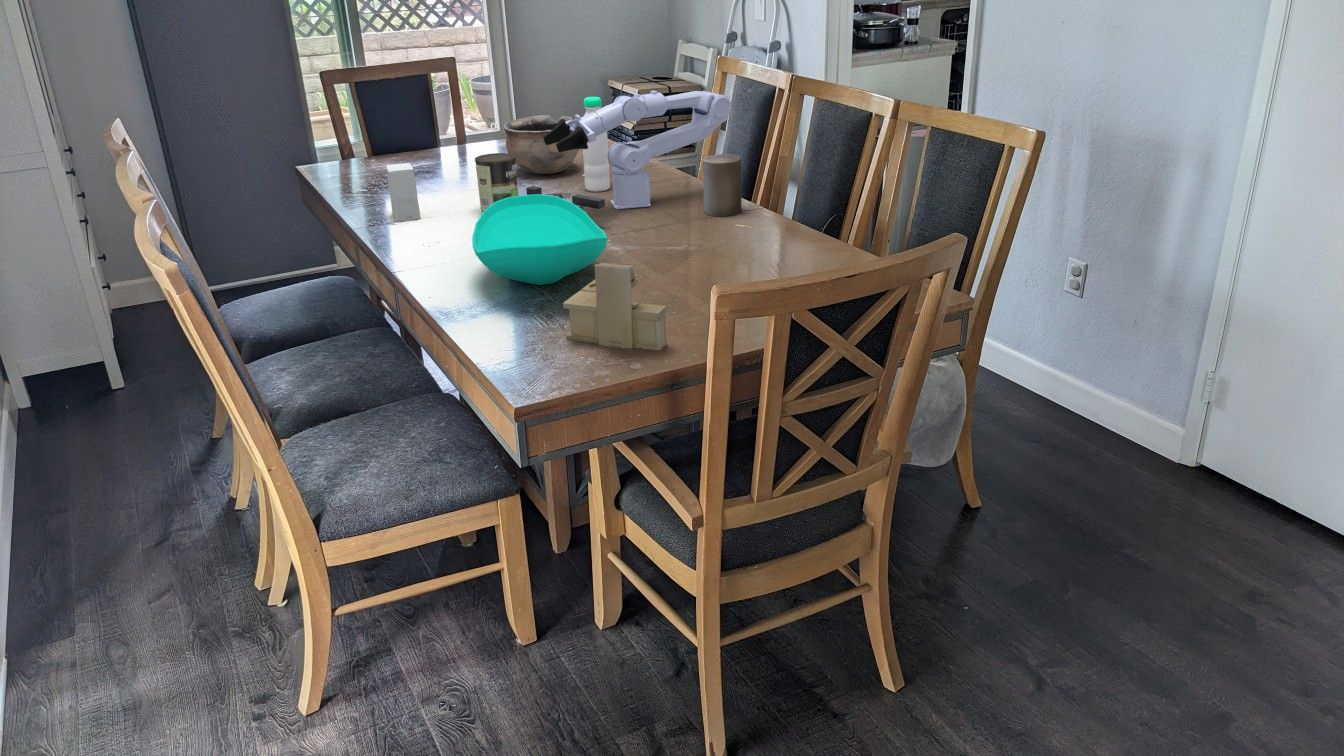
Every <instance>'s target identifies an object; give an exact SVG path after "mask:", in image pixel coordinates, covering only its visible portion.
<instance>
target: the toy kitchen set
mask: <svg viewBox="0 0 1344 756" xmlns="http://www.w3.org/2000/svg"><path fill="white" fill-rule="evenodd" d="M594 278H595V279H593V280H592V281H590V282H589V283H588V284H587V285H585V286H584V287H583V288H581V289H580V290H579V291H577V292H576V293H574V294H573V295H572V296H570V297H569V298H568V299H566V300H565V301H564V302H563V303H562V307H563V309H567V310H568V314H569V315H568V316H569V325H570V330H569V332H567V334H565V339H566V340H572V341H579V342H586V343H593V342H594V344H598V346H602V345H603V347H610V346H612V347H611V348H618V347H620V348H619V349H625V348H628V349H627V350H630V349H629V348H633V347H637V348H636V349H638V348H644V349H643V350H646V349H653V350H661V349H662V348H663V347H664V346H665V345H666V344H667V345H668V340H667V331H666V330H667V327H666V323H667V322H666V321H667V320H666V314H667V312H668V307H667V306H666V305H661V304H660V305H659V304H651V303H650V304H649V303H643V302H642V303H640V302H635V301H634V302H633V301H632V299H633V298H632V297H633V296H632V289H633V288H634V287H635V286H638V284H639V278H638V277H637V278H636V274H635V272H634V270H633V268H632V267H631V266H630V265H628V264H627V265H626V264H618V263H617V264H615V263H614V264H613V263H607V262H606V263H604V262H600V263H599V264H597V263H596V264H594ZM667 345H666V346H667ZM666 346H665V347H666ZM665 347H664V348H665ZM664 348H663V349H664ZM633 349H634V348H633ZM663 349H662V350H663ZM653 350H652V351H653ZM662 350H661V351H662Z"/></svg>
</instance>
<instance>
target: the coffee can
mask: <svg viewBox="0 0 1344 756" xmlns="http://www.w3.org/2000/svg"><path fill="white" fill-rule="evenodd" d="M474 163H475V169H476V177H477V186H478V196H479V204H480V213H481V214H482V213H483V211H484V210H486V209H487V208H488V207H489V206H490V205H492V204H493V203H494V202H496V201H499V200H502V199H505V198H508V197H514V196H519V189H518V186H519V185H518V178H517V177H518V176H517V164H516V163H515V155H513V154H508V152H505V153H504V152H499V153H498V152H497V153H496V152H495V153H487V154H482V155H478V156H476V157H474Z"/></svg>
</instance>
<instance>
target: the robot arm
mask: <svg viewBox="0 0 1344 756" xmlns="http://www.w3.org/2000/svg"><path fill="white" fill-rule="evenodd" d="M686 108H692V116H691V121H690V122H689V123H687V124H684V125H681V126H679V127H675V128H673V129H670V130H667V131H665V132H662V133H659V134H655V135H653V136H650V137H648V138H645V139H642V140H635V141H633V140H632V141H628V142H621V141H620V142H615V143H613V144H611V146H610V147H608V153H607V158H608V163H610V165H611V167H612V168H611V171H612V173H611V174H612V186H613V187H612V190H613V191H612V192H613V199H610V204H611V205H612V206H613V209H615V210H622V209H623V210H624V209H636V208H645V207H646V208H647V207H651V205H652V204H651V190H650V189H651V187H650V176H649V172H648V170H647V169H642V168H643V167H644V166H646V165H649V164H650V162H651V161H650V160H651V159H654V158H656V157H659V156H662V155H665V154H668V153H670V152H673V151H676V150H679V149H681V148H683V147H686V146H690V145H692V144H694V143H697V142H700V141H702V140H705V139H707V138H709V136H710V135H712V133H713V132H714V131H715V130H716V129H717V128H718V127H719V126H720V125H721V124H723V123H724V122H726V121H727V120H728V118H729V116H730V113H731V110H732V102H731V99H730V98H729V97H728V96H727V95H725V94H719V93H714V92H711V91H709V90H694V91H688V92H682V93H678V94H672V95H667V96H665V95H664V94H663V93H661V92H658V91H657V90H651V91H650V93H646V94H640V93H634V94H633V96H632V97H631V96H629V95H618V96H617V97H616V98H615V99H614V100H613V102H612V103H610V104H607V105H605V106H603V107H601V108H600V109H598V110H596V111H594V112H592V113H590V114H588V115H586V116H584V115H583V116H580V115H579V114H574V119H575V120H573V119H572V121H570V120H568V121H566V122H565V120H564V119H561V120H560V121H559V122H558V124H557V125H556V126H555V127H554V128H553V129H552V130H551V131H550V132H549V133H547V134H546V135H545V136H544V137H543V139H544V142H545V144H546V145H550V144H554V143H557V142H558V143H557V144H556V146H557V149H558V152H564V151H568V150H574V149H579V150H583V149H588V145H587V143H588V142H590V143H591V142H593V141H596V140H597V138H596V136H598V135H600V134H602V133H605V132H607V133H608V131H611V130H613V129H615V128H617V127H619V126H621V125H622V124H625V123H627V121H628V122H635V123H637V122H639V121H640V120H641V119H646V118H653V117H659V116H664V114H665V113H666V112H667V110H675V109H686ZM571 132H572V133H571Z"/></svg>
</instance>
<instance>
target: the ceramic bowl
mask: <svg viewBox="0 0 1344 756" xmlns="http://www.w3.org/2000/svg"><path fill="white" fill-rule="evenodd" d="M561 119H564V120H565V122H566V121H568V120H570V121H572V120H575V118H573V117H572V116H568V115H567V116H565V115H562V116H560V117H559V119H558V120H556V119H553V118H552V117H551V116H550V115H549V114H547V115H532V116H531V115H530V116H528V117H527V116H526V117H523V118H518V119H513V120H510V121H507V122H504V124H503V129H504V132H505V135H506V136H505V137H506V139H505V147H506V151H507V154H513V155H515V164H516V166H518V167H519V168H520V169H521V170H523V171H524V172H526V173H527V174H534V175H537V174H538V175H550V174H557V173H561V172H563V171H565V170H567V169H568V168H569V167H570V166H571V165H572V163H573V162H574V161H575V159H576V157H577V154H578V152H579V151H580V149H574V150H568V151H564V152H558V149H557V146H556V144H557V143H558V142H557V143H554V144H550V145H546V144H545V142H544V139H543V137H544V136H545V135H546V134H547V133H549V132H550V131H551V130H552V129H553V128H554V127H555V126H556V125H557V124H558V122H559V121H560V120H561ZM571 133H572V132H571Z"/></svg>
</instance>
